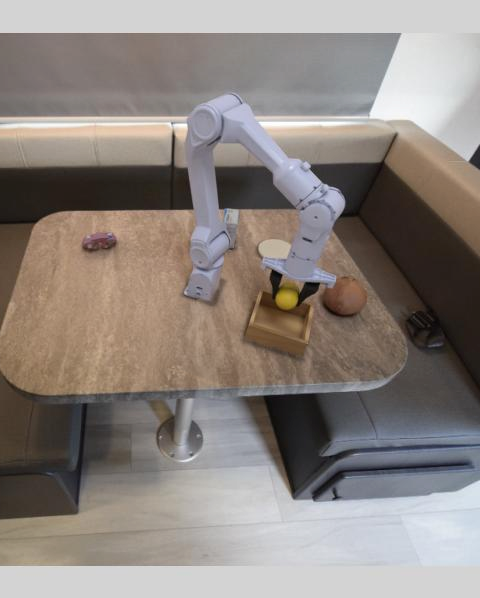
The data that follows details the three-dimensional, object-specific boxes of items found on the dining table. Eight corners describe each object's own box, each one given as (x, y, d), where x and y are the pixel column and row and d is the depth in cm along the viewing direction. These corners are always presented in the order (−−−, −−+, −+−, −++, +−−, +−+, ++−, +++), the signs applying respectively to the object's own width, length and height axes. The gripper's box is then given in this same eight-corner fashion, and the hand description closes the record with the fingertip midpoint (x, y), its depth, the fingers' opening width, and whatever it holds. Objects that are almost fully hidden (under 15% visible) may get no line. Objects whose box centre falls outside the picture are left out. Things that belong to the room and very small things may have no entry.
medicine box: (233, 249, 103) (238, 224, 97) (218, 247, 103) (222, 222, 97) (234, 234, 108) (240, 209, 102) (220, 232, 109) (224, 207, 103)
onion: (327, 305, 92) (337, 268, 89) (366, 317, 86) (378, 278, 83) (312, 312, 86) (323, 273, 82) (353, 326, 80) (366, 283, 76)
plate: (293, 268, 98) (294, 266, 97) (254, 258, 101) (254, 256, 100) (298, 246, 105) (299, 244, 104) (262, 237, 108) (262, 235, 107)
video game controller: (84, 255, 102) (82, 244, 95) (81, 241, 103) (79, 229, 97) (117, 250, 104) (118, 239, 97) (114, 237, 105) (115, 225, 99)
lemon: (292, 316, 75) (299, 301, 72) (271, 310, 76) (276, 295, 73) (297, 295, 80) (303, 280, 77) (277, 289, 81) (282, 274, 78)
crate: (300, 358, 77) (308, 343, 73) (243, 339, 80) (248, 324, 76) (307, 318, 85) (314, 303, 81) (255, 303, 88) (260, 288, 84)
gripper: (346, 249, 69) (321, 298, 78) (272, 231, 72) (257, 279, 82) (344, 271, 64) (318, 319, 74) (265, 250, 68) (250, 299, 77)
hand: (285, 300), depth 78 cm, fingers closed on lemon, 4 cm apart
